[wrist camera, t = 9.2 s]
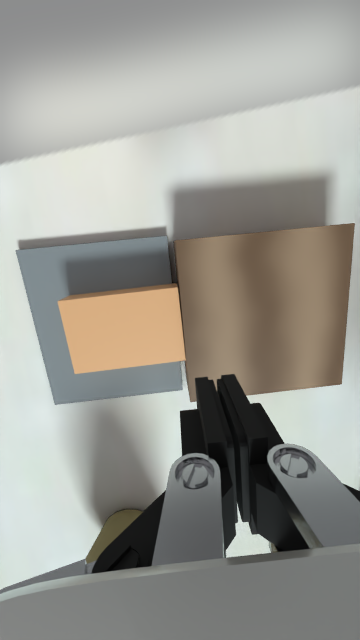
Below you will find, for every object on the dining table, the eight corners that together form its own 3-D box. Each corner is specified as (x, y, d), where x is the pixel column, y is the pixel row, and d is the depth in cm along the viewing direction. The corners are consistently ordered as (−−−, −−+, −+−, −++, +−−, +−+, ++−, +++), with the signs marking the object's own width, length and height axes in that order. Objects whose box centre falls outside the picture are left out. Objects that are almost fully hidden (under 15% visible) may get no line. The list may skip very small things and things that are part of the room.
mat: (166, 235, 22) (166, 235, 21) (182, 386, 25) (182, 389, 25) (19, 250, 21) (15, 250, 21) (57, 401, 25) (54, 404, 24)
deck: (325, 226, 22) (354, 223, 19) (318, 366, 26) (341, 384, 22) (173, 241, 22) (175, 240, 18) (186, 381, 25) (190, 402, 22)
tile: (176, 283, 22) (177, 287, 20) (183, 348, 24) (185, 360, 21) (69, 295, 22) (57, 301, 19) (83, 361, 23) (74, 374, 21)
